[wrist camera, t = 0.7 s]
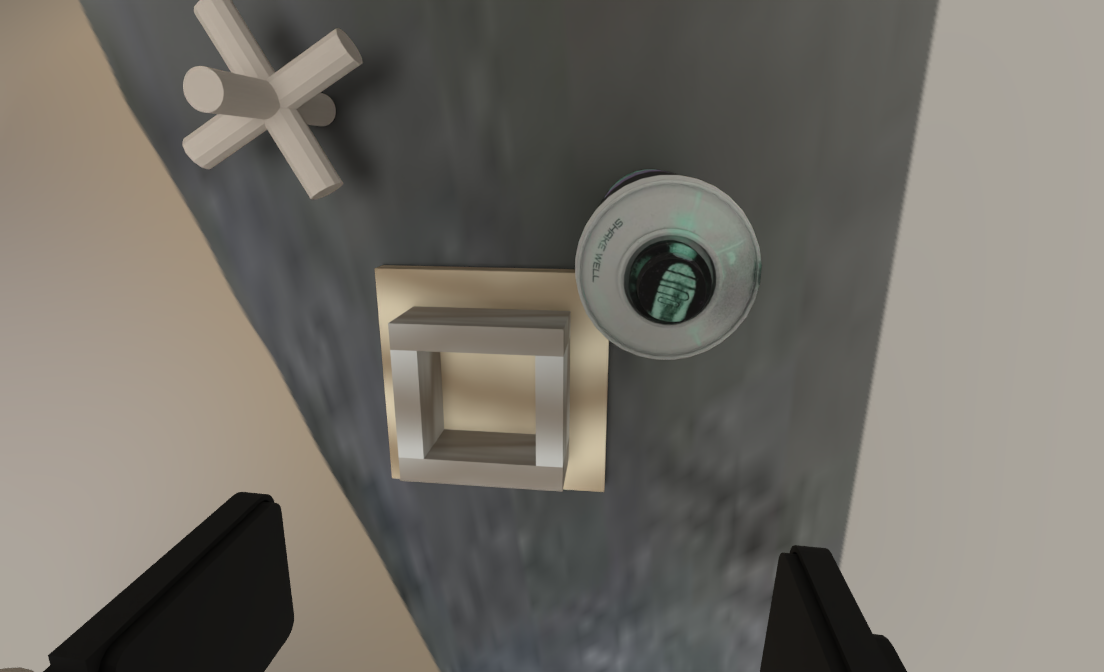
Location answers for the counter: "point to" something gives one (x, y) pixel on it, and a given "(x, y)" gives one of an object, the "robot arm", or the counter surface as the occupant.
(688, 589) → the counter surface
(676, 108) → the counter surface
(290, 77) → the pipe connector
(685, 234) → the spray can
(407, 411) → the collar block
